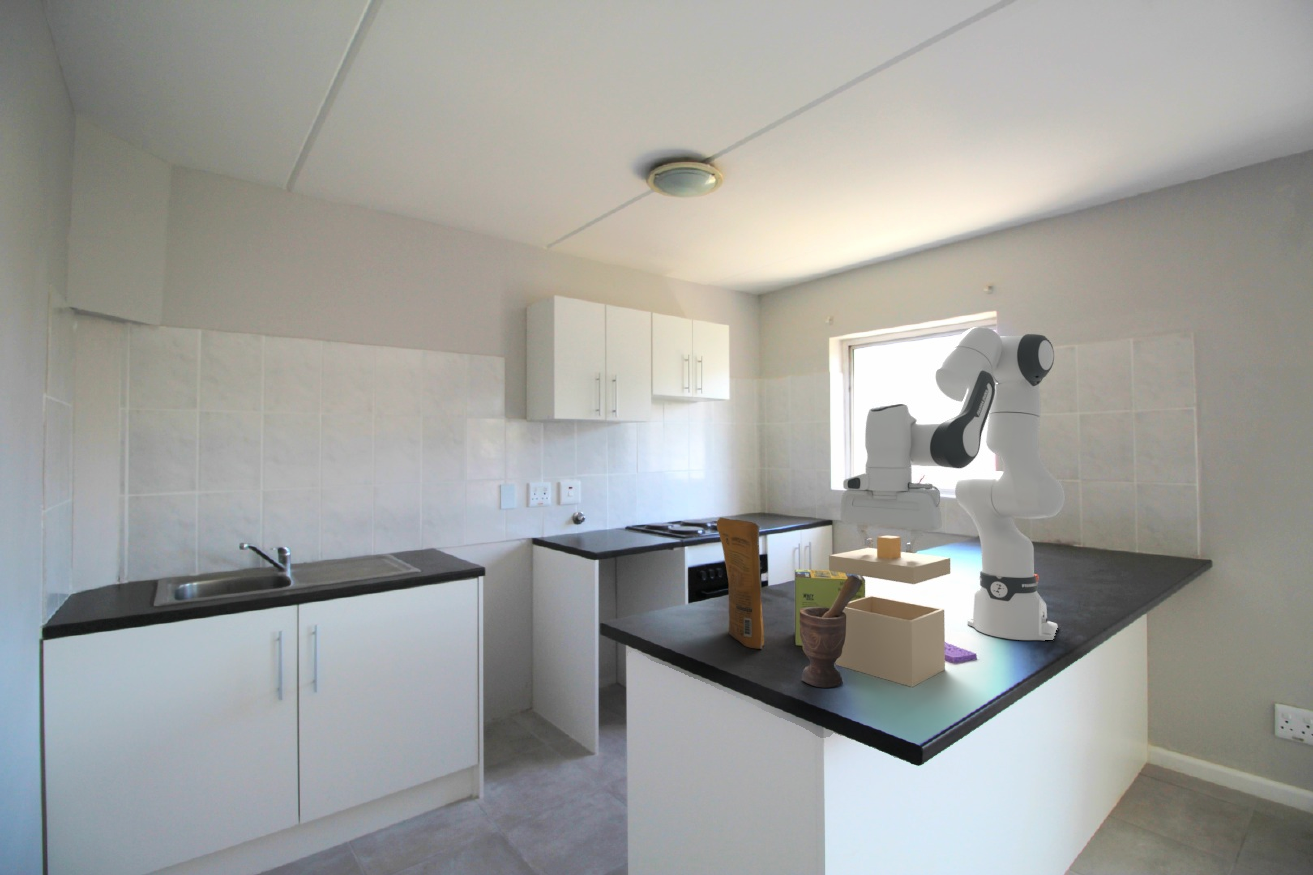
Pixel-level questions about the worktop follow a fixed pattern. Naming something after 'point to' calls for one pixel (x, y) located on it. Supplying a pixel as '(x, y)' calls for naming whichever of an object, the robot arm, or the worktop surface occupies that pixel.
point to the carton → (893, 640)
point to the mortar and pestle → (826, 636)
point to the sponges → (958, 654)
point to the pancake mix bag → (743, 580)
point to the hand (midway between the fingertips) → (888, 549)
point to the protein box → (819, 591)
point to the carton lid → (890, 563)
